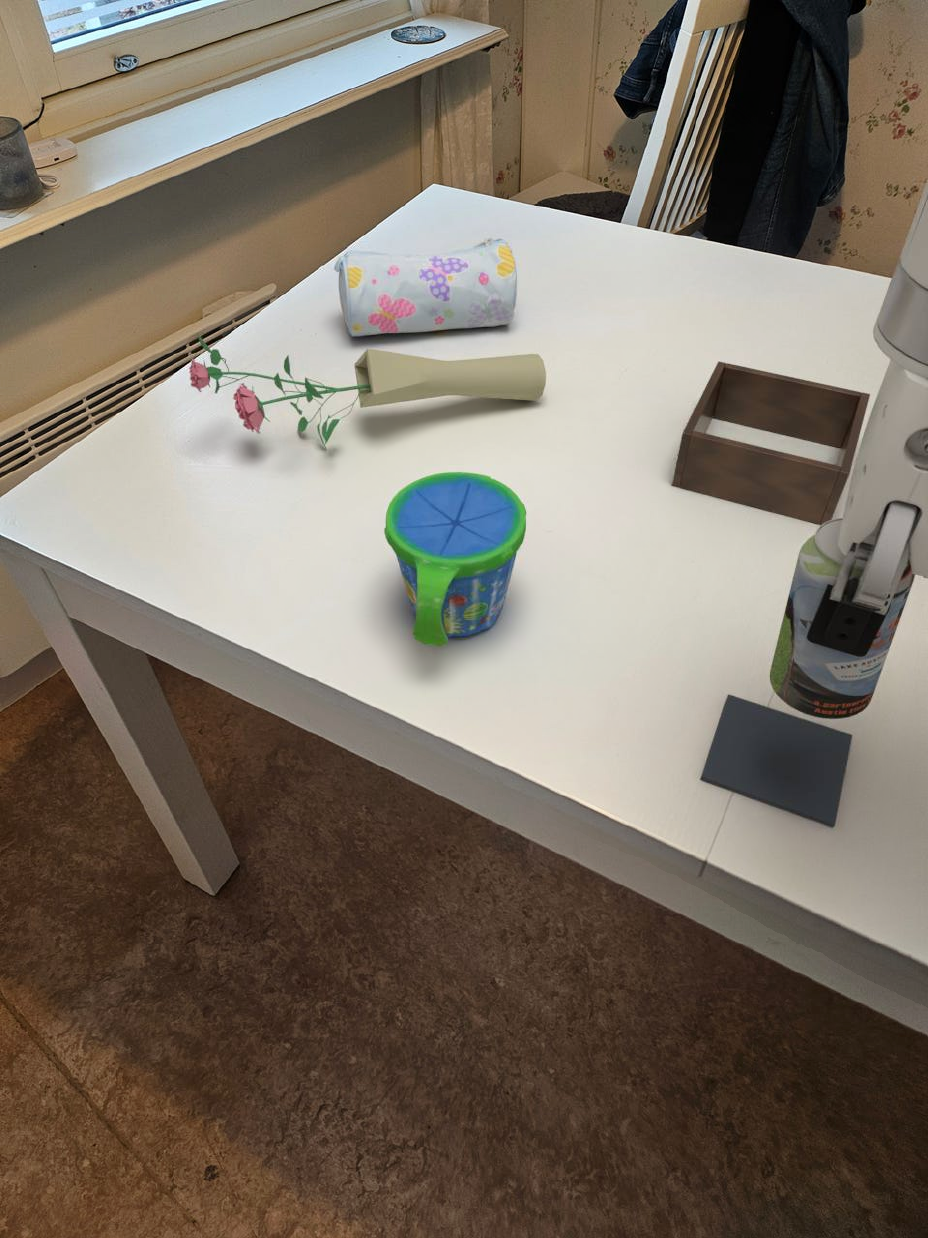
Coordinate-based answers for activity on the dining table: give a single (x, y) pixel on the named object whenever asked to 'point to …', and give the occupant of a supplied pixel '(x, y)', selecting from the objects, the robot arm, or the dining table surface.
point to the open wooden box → (764, 471)
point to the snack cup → (455, 550)
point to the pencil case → (428, 289)
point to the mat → (779, 759)
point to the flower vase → (392, 382)
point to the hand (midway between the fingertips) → (845, 604)
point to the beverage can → (819, 672)
